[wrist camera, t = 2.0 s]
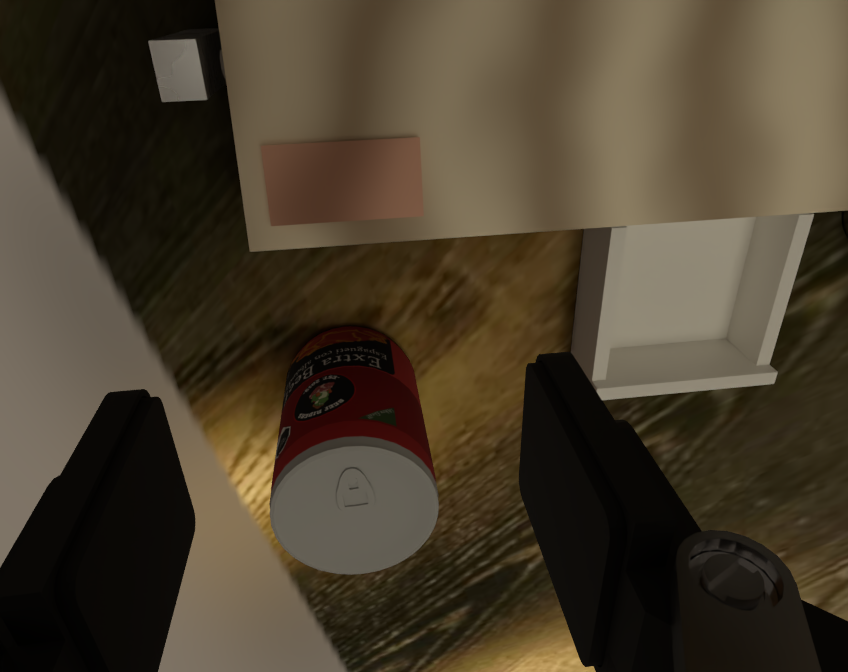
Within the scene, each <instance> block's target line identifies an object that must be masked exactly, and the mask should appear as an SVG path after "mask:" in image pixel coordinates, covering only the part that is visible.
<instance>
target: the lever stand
mask: <svg viewBox="0 0 848 672" xmlns="http://www.w3.org/2000/svg"><path fill="white" fill-rule="evenodd" d="M148 43H149V47H150V51H151V56H152V60H153V65H154V69H155V73H156V78H157V82H158V87H159V91H160V96H161V100H162V102H172V101H193V100H208V99H209V98H210V97H211V96H212V95H213V94H215V93H216V92H217V91H218V90H219V89H220V88H221V87H223V86H224V85H225V84H226V79H225V78H224V76H223V73H222V69H221V63H220V50H222V48H221V41H220V33H219V28H209V29H188V30H184V31H181V32H177V33H174V34H170V35H167V36H163V37H160V38H156V39H153V40H149V41H148Z"/></svg>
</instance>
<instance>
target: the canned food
mask: <svg viewBox="0 0 848 672" xmlns="http://www.w3.org/2000/svg"><path fill="white" fill-rule="evenodd" d="M438 505H439V503H438V491H437V486H436V478H435V473H434V468H433V463H432V458H431V453H430V448H429V443H428V439H427V434H426V429H425V424H424V419H423V414H422V409H421V404H420V399H419V394H418V389H417V384H416V379H415V375H414V370H413V368H412V365H411V363H410V361H409V359H408V358H407V356H406V355H405V354H404V352H403V351H402V350H401V349H400V348H399V346H398V345H396V344H395V343H394V342H393V341H392V340H391V339H390V338H388V337H386V336H385V335H383V334H381V333H380V332H377V331H374V330H371V329H368V328H363V327H356V326H352V327H340V328H335V329H331V330H328V331H326V332H323V333H321V334H319V335H318V336H316V337H314V338H313V339H311V340H310V341H309V342H308V343H307V344H306V345H305V346H304V347H303V348H302V349H301V350H300V351H299V353H298V354H297V355H296V357H295V359H294V360H293V362H292V363H291V366H290V368H289V371H288V373H287V379H286V387H285V394H284V401H283V408H282V415H281V422H280V429H279V436H278V443H277V450H276V458H275V465H274V472H273V479H272V487H271V498H270V518H271V526H272V528H273V531H274V533H275V536H276V538H277V540H278V541H279V542H280V544H281V545H282V546H283V548H284V549H285V550H286V551H287V552H288V553H290V554H291V555H292V556H293V557H294V558H296V559H297V560H299V561H301V562H302V563H304V564H306V565H308V566H310V567H313V568H316V569H318V570H321V571H326V572H331V573H336V574H363V573H369V572H374V571H379V570H382V569H385V568H388V567H390V566H393V565H395V564H397V563H399V562H401V561H403V560H405V559H406V558H408V557H409V556H411V555H412V554H413V553H414V552H416V551H417V550H418V549H419V548H420V547H421V546H422V545H423V544H424V543H425V541H426V540H427V539H428V538H429V536H430V534H431V532H432V531H433V529H434V527H435V523H436V520H437V517H438Z"/></svg>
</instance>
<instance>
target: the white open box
mask: <svg viewBox="0 0 848 672" xmlns="http://www.w3.org/2000/svg"><path fill="white" fill-rule="evenodd" d="M813 216H814V214H812V213H803V214H789V215H774V216H760V217H745V218H731V219H716V220H702V221H688V222H673V223H659V224H644V225H630V226H615V227H601V228H587V229H584V232H583V242H582V251H581V260H580V270H579V279H578V289H577V298H576V307H575V317H574V326H573V335H572V345H571V353H572V354H573V356H574V357H575V359H576V360H577V362H578V363H579V365H580V367H581V368H582V370H583V371H584V373H585V374H586V376H587V378H588V379H589V381H590V382H591V384H592V385H593V387H594V389H595V390H596V392H597V393H598V395H599V396H600V398H601V400H609V399H620V398H630V397H641V396H651V395H662V394H672V393H683V392H693V391H703V390H714V389H724V388H735V387H745V386H756V385H766V384H774V383H775V379H776V376H777V373H778V372H777V371H776V370H775V369H774V368H773V367H771V366H770V365H769V364H770V360H771V357H772V354H773V350H774V347H775V344H776V340H777V337H778V334H779V330H780V327H781V324H782V320H783V317H784V313H785V310H786V307H787V303H788V300H789V297H790V293H791V290H792V287H793V283H794V280H795V277H796V273H797V270H798V267H799V263H800V260H801V257H802V253H803V250H804V246H805V243H806V240H807V236H808V233H809V230H810V226H811V223H812V220H813Z"/></svg>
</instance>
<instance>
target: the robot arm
mask: <svg viewBox="0 0 848 672" xmlns="http://www.w3.org/2000/svg"><path fill="white" fill-rule="evenodd" d="M519 486H520V492H521V496H522V499H523V502H524V505H525V507H526V510H527V513H528V516H529V519H530V521H531V524H532V527H533V530H534V532H535V535H536V538H537V541H538V544H539V546H540V549H541V552H542V555H543V558H544V560H545V563H546V566H547V569H548V571H549V574H550V577H551V580H552V583H553V585H554V588H555V591H556V594H557V597H558V599H559V602H560V605H561V608H562V611H563V613H564V616H565V619H566V622H567V624H568V627H569V630H570V633H571V636H572V638H573V641H574V644H575V647H576V650H577V652H578V655H579V658H580V660H581V662H582V664H583V665H584V666H585V667H589V666H594V668H595V671H596V672H848V621H846V620H844V619H842V618H839V617H837V616H835V615H833V614H831V613H829V612H827V611H824V610H822V609H820V608H818V607H816V606H814V605H812V604H809V603H807V602H805V601H803V600H801V598H800V595H799V591H798V588H797V584H796V582H795V580H794V578H793V576H792V574H791V572H790V570H789V569H788V567H787V566H786V565H785V564H784V563H783V562H782V561H781V559H780V558H779V557H778V556H777V555H775V554H774V553H773V552H771V551H770V550H769V549H767V548H766V547H765V546H763V545H762V544H760V543H758V542H756V541H754V540H752V539H750V538H748V537H746V536H743V535H739V534H735V533H732V532H728V531H716V530H708V531H703V532H702V531H701V530H700V528H699V527H698V525H697V524H696V522H695V521H694V519H693V518H692V516H691V515H690V513H689V512H688V510H687V509H686V507H685V506H684V504H683V503H682V501H681V500H680V498H679V497H678V495H677V494H676V492H675V491H674V489H673V488H672V486H671V485H670V483H669V482H668V480H667V479H666V477H665V476H664V474H663V473H662V471H661V470H660V468H659V466H658V465H657V463H656V462H655V460H654V459H653V457H652V456H651V454H650V453H649V451H648V450H647V448H646V447H645V445H644V444H643V442H642V441H641V439H640V438H639V436H638V435H637V433H636V432H635V430H634V429H633V427H632V426H631V425H630V424H629V423H628V422H627V421H625V420H614V418H613V417H612V415H611V414H610V412H609V411H608V409H607V407H606V406H605V404H604V403H603V401H602V400H601V398H600V396H599V395H598V393H597V392H596V390H595V389H594V387H593V385H592V384H591V382H590V381H589V379H588V378H587V376H586V374H585V373H584V371H583V370H582V368H581V367H580V365H579V363H578V362H577V360H576V359H575V357H574V356H573V354H572V353H571V352H561V353H549V354H539V355H538V356H537V359H536V363H528V364H527V367H526V377H525V392H524V407H523V423H522V438H521V453H520V468H519ZM194 532H195V513H194V509H193V505H192V502H191V499H190V495H189V492H188V488H187V485H186V482H185V478H184V475H183V472H182V468H181V465H180V461H179V458H178V454H177V451H176V448H175V444H174V441H173V437H172V434H171V431H170V427H169V424H168V420H167V417H166V414H165V410H164V407H163V404H162V401H161V399H160V398H159V397H150V394H149V393H148V392H147V390H144V389H141V390H130V391H118V392H110V393H108V394H107V395H106V396H105V398H104V399H103V401H102V403H101V404H100V406H99V408H98V410H97V411H96V413H95V415H94V417H93V418H92V420H91V422H90V424H89V426H88V427H87V429H86V431H85V433H84V434H83V436H82V438H81V440H80V441H79V443H78V445H77V447H76V448H75V450H74V452H73V454H72V455H71V457H70V459H69V461H68V462H67V464H66V466H65V468H64V470H63V471H62V473H61V475H60V476H58V477H56V478H54V479H53V480H52V481H51V483H50V484H49V485H48V487H47V488H46V490H45V492H44V493H43V495H42V497H41V499H40V500H39V502H38V504H37V506H36V507H35V509H34V511H33V512H32V514H31V516H30V518H29V519H28V521H27V523H26V524H25V526H24V528H23V530H22V531H21V533H20V535H19V537H18V538H17V540H16V542H15V543H14V545H13V547H12V549H11V550H10V552H9V554H8V555H7V557H6V559H5V561H4V562H3V564H2V566H1V568H0V672H158V669H159V665H160V662H161V657H162V654H163V650H164V646H165V643H166V639H167V635H168V631H169V627H170V623H171V620H172V616H173V612H174V608H175V605H176V601H177V597H178V593H179V589H180V586H181V582H182V578H183V574H184V570H185V566H186V563H187V559H188V555H189V551H190V548H191V544H192V540H193V536H194Z"/></svg>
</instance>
